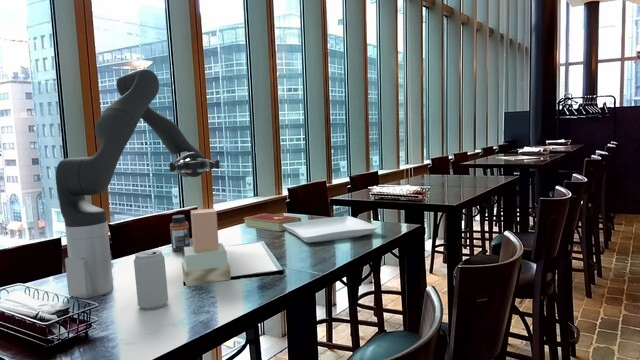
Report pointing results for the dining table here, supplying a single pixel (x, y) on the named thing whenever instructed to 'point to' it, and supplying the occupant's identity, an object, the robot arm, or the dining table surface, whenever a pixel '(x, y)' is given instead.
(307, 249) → the dining table surface
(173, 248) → the supplement bottle
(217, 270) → the birch base block
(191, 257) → the sage top block
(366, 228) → the square plate
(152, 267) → the beverage can
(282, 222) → the hardcover book
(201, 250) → the terracotta pillar block
